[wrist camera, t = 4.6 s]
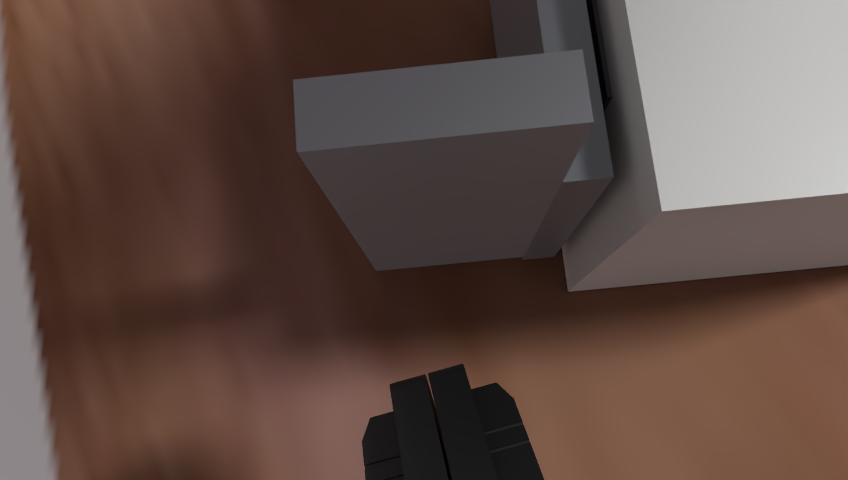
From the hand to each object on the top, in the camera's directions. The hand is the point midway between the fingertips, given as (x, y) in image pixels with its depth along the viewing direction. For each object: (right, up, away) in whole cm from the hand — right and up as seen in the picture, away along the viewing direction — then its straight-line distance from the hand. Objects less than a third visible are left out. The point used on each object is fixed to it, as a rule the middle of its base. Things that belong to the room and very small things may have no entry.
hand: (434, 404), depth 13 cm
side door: (+1, +7, +9) cm, 11 cm away
